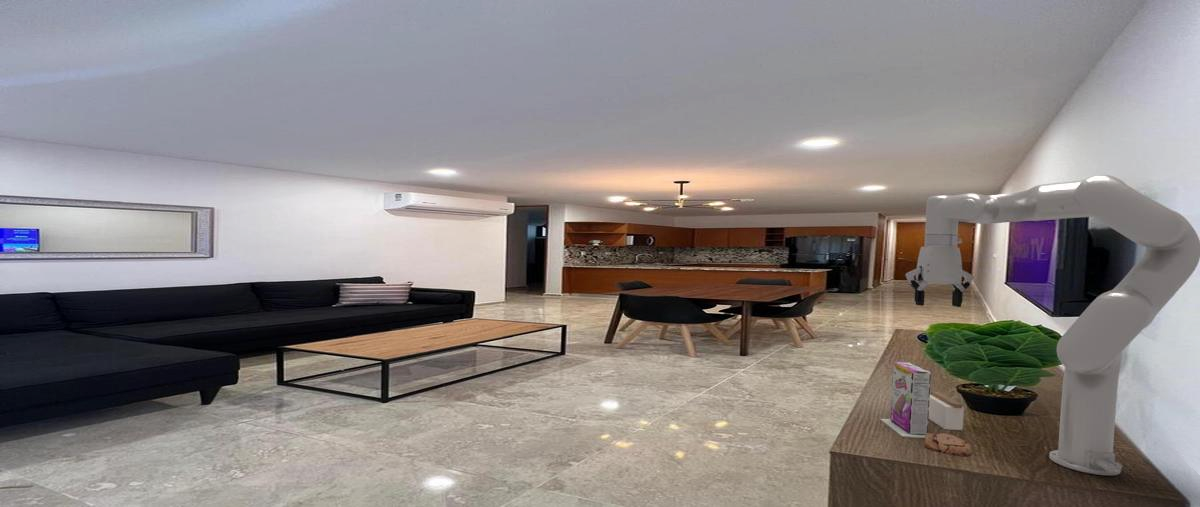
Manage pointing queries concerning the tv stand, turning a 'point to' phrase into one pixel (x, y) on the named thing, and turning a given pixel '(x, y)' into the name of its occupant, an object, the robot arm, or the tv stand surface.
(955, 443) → the cookie
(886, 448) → the tv stand surface
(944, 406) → the block
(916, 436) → the stub pad
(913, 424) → the candy bar box
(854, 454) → the tv stand surface
